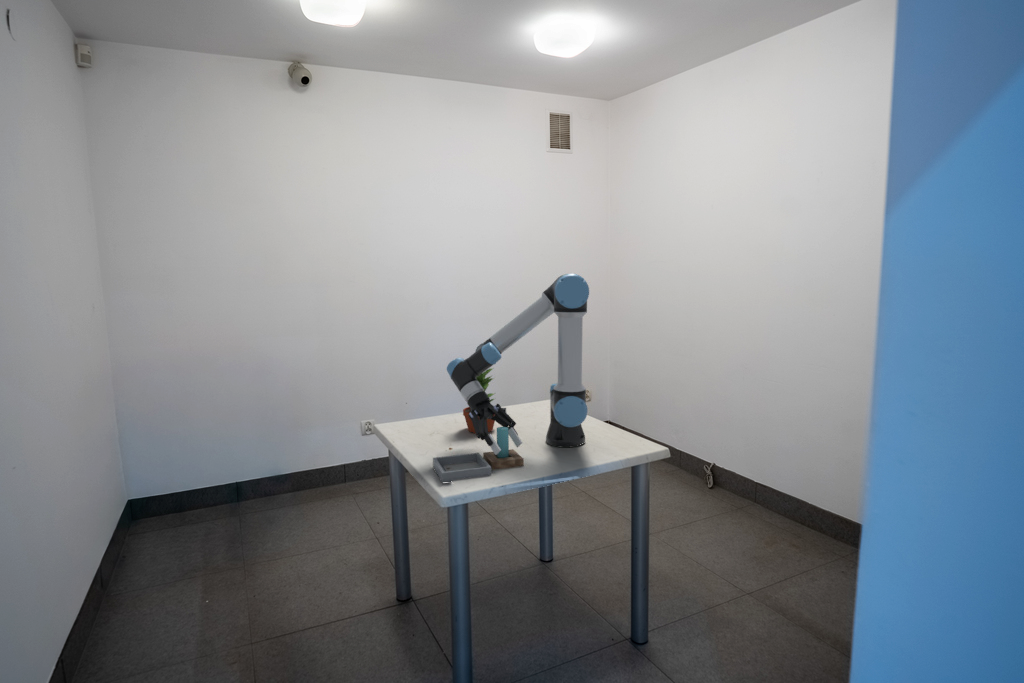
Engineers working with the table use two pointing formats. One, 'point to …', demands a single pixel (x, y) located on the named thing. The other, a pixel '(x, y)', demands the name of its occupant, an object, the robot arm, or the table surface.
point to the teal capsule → (503, 442)
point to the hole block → (503, 460)
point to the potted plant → (484, 384)
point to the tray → (460, 474)
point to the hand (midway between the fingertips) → (509, 448)
